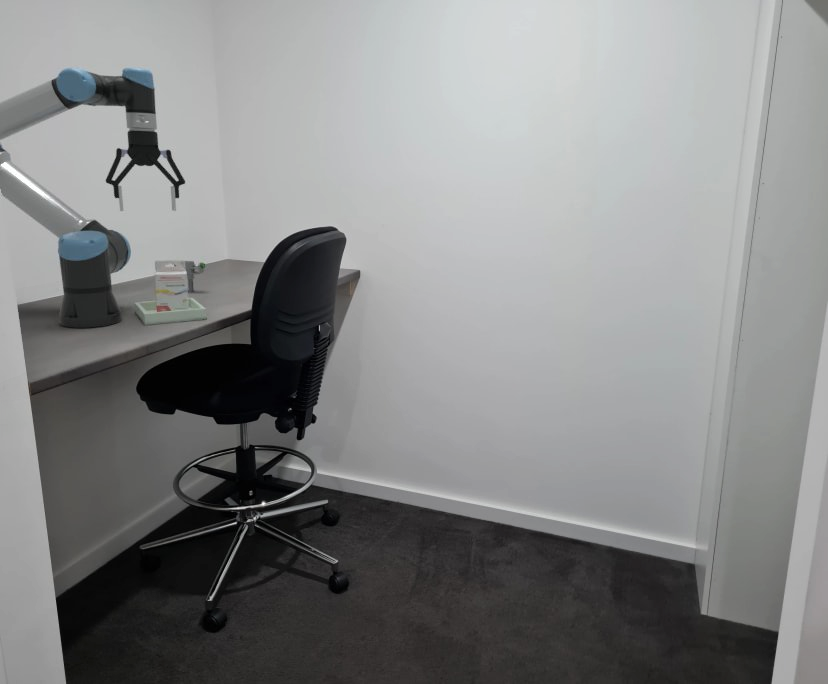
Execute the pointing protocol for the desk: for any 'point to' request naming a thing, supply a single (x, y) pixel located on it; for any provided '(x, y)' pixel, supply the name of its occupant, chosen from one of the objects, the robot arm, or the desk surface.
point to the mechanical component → (192, 272)
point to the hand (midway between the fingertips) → (148, 210)
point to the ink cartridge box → (171, 286)
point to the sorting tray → (169, 313)
